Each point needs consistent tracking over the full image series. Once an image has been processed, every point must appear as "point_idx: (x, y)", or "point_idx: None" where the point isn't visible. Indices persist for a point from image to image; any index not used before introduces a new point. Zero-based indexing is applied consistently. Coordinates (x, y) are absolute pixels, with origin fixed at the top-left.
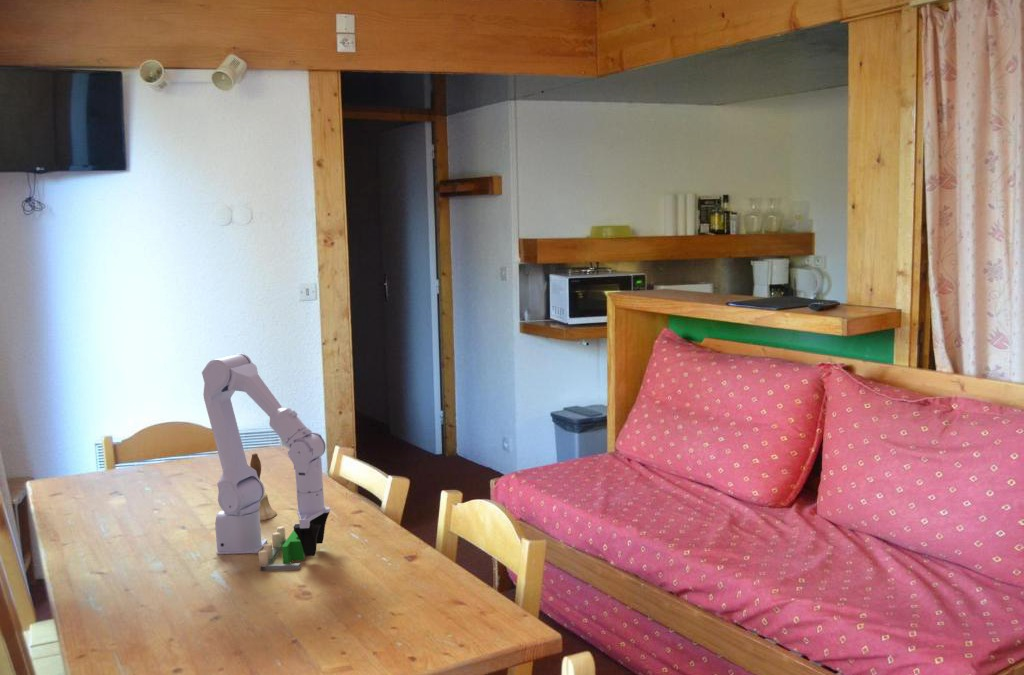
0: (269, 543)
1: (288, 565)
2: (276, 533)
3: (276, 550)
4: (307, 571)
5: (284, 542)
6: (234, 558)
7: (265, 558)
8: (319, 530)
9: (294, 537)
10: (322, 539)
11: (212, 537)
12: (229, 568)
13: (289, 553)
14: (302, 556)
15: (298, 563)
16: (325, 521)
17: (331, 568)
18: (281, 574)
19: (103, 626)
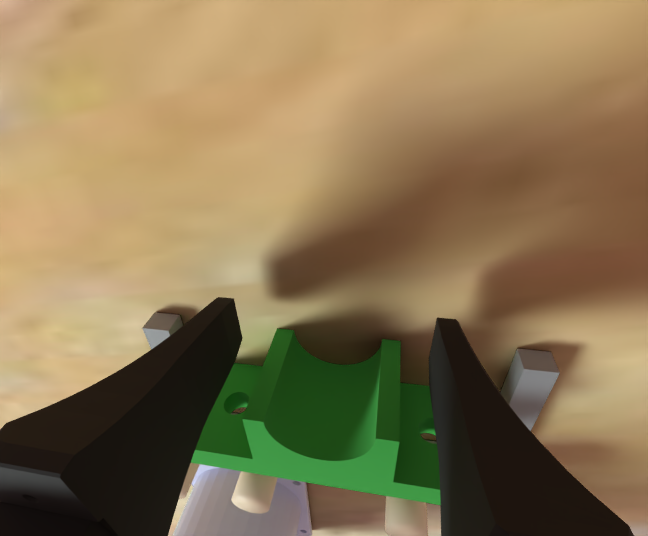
0: (385, 527)
1: (541, 409)
2: (244, 503)
3: None
4: (599, 313)
5: None
6: (343, 506)
7: None
8: (194, 372)
9: (321, 466)
10: (223, 312)
11: None
12: (437, 518)
13: (416, 427)
14: (399, 361)
15: (525, 374)
16: (132, 396)
17: (614, 177)
18: (584, 409)
19: None
